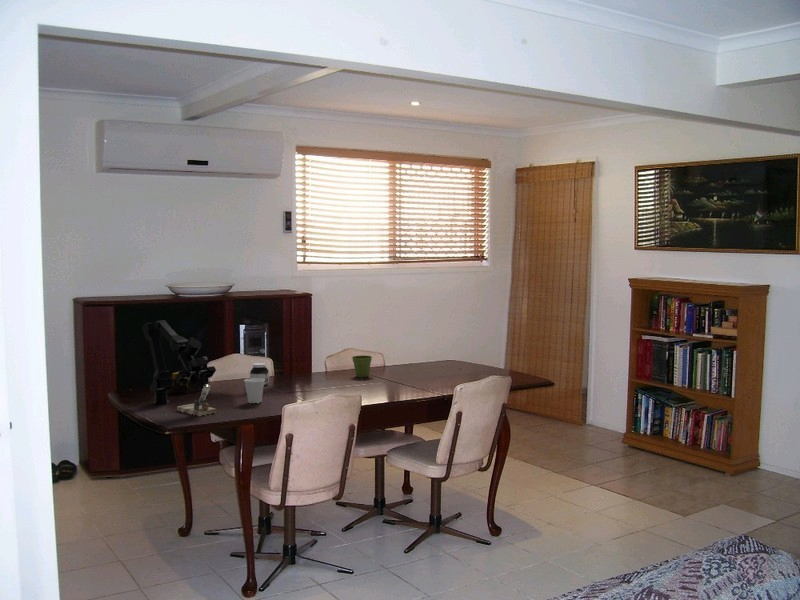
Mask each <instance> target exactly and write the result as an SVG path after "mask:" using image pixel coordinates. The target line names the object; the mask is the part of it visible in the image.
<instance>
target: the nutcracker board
mask: <svg viewBox="0 0 800 600" xmlns="http://www.w3.org/2000/svg"><path fill="white" fill-rule="evenodd" d="M176 410H177V412H180V411H181V412H180V413H184V412H185V413H184V414H188V415H192V414H193V415H192V416H195V415H197V417H203V416H202V415H204V416H208V415H207V414H209V415H213V414H212V413H214V414H217V408H214V407H210V404H209V403H208V399H206V398H205V401H204V404H203V405H202V406H199V400H197V399H193V403H189V404H185V405H184V404H183V405H179V406H178V405H177V409H176Z"/></svg>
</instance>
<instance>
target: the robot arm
mask: <svg viewBox="0 0 800 600" xmlns="http://www.w3.org/2000/svg"><path fill="white" fill-rule="evenodd" d="M141 329H142V332H143V336H144V338H145V339H146V340H147V342H148V343H149V347H150V348H149V349H150V353H151V357H152V361H153V367H154V373H153V376H152V379H153V381H152V382H151V384H150V386H149V389H150V392H153V393H154V401H153V402H152V404H153V405H167V404H168V403H169V402H170V400H168V391H169V390H172V388H173V380H172V372H171V370H168V369H167V368H166V364H165V360H164V354H163V350H162V344H161V337H162V336H163V337H165V338H166V340H167V341H168V342H169V343H170V344H169V345H170V348H171V350H172V352H173V353H180V354H178V357H177V361H178V362H179V361H181V363H182V365H183V367H182V368H183V370H179V371H177V372H178V374H177V376H176V377H175V380H176V382H177V383H181V382H183V378H189V381H188V382H189V383H192V384H194V385H196V386H197V387H199V388H200V390H202V389H203V387H204V385H205V379H211V378H213V376H214V374H215V373H216V371H217V369H216V367H215V366H206V365H207V364H208V363H209V359H208V357H207V356H205V355H204V356H202V357H200V358H195V357H194V356H196V355H197V353H198V352H199V350H200V349H201V347H202V343H201V341H199V340H198V339H196V338H195V337H194V336H191V337H189V338H188V339H187V338H185V337H184V336H181V335H179V334H178V333H176V331H175V330H174V329H172V327H171V326H170V325H169V324H168V322H167V320H164V319H163V320H162V319H161V320H156V321H153V322H145V323H144V324H143V326H142V328H141ZM204 366H206V367H205V368H204ZM203 368H204V370H203Z"/></svg>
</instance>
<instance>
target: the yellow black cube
mask: <svg viewBox="0 0 800 600" xmlns="http://www.w3.org/2000/svg"><path fill="white" fill-rule="evenodd" d="M178 372H179V371H177V372H173V373H172V372H171V376H172V381H173V382H172V392H173V393H178V392H182V393H181V394H191V393H190V392H192V393H194V391H195V392H198V391H197V390H199V391H201V389H200V388H199V387H197V386H196V385H194V384H192V383H189V382H188V381H189V378H183V382H181V383H177V382H176V380H175V377H176V376H177V374H178Z"/></svg>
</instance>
